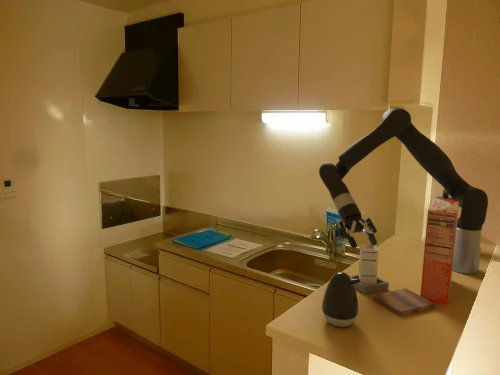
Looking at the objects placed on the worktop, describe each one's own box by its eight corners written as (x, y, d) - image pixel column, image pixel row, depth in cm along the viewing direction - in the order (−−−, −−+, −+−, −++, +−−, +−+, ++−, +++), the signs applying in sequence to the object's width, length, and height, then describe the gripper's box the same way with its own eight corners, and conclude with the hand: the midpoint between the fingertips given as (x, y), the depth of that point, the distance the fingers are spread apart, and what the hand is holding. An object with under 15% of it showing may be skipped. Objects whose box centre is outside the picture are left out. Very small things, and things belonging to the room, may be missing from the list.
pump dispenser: (351, 335, 103) (355, 283, 100) (315, 325, 108) (318, 274, 106) (362, 319, 111) (365, 270, 109) (328, 310, 117) (330, 263, 114)
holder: (368, 278, 141) (369, 272, 141) (388, 289, 132) (388, 282, 132) (346, 282, 137) (346, 276, 137) (364, 294, 128) (365, 287, 128)
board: (405, 292, 130) (405, 288, 130) (434, 307, 119) (435, 303, 119) (373, 299, 124) (373, 295, 124) (400, 316, 114) (400, 311, 113)
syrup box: (376, 290, 131) (379, 250, 129) (358, 288, 132) (361, 248, 130) (374, 283, 137) (377, 245, 134) (357, 282, 138) (359, 243, 135)
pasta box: (427, 275, 144) (434, 198, 139) (451, 280, 140) (459, 200, 135) (420, 299, 125) (427, 210, 120) (447, 305, 121) (456, 213, 116)
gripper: (335, 203, 137) (354, 243, 129) (367, 201, 143) (387, 239, 134) (326, 214, 143) (343, 253, 134) (357, 211, 148) (375, 248, 140)
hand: (365, 246), depth 134 cm, fingers open, 8 cm apart
